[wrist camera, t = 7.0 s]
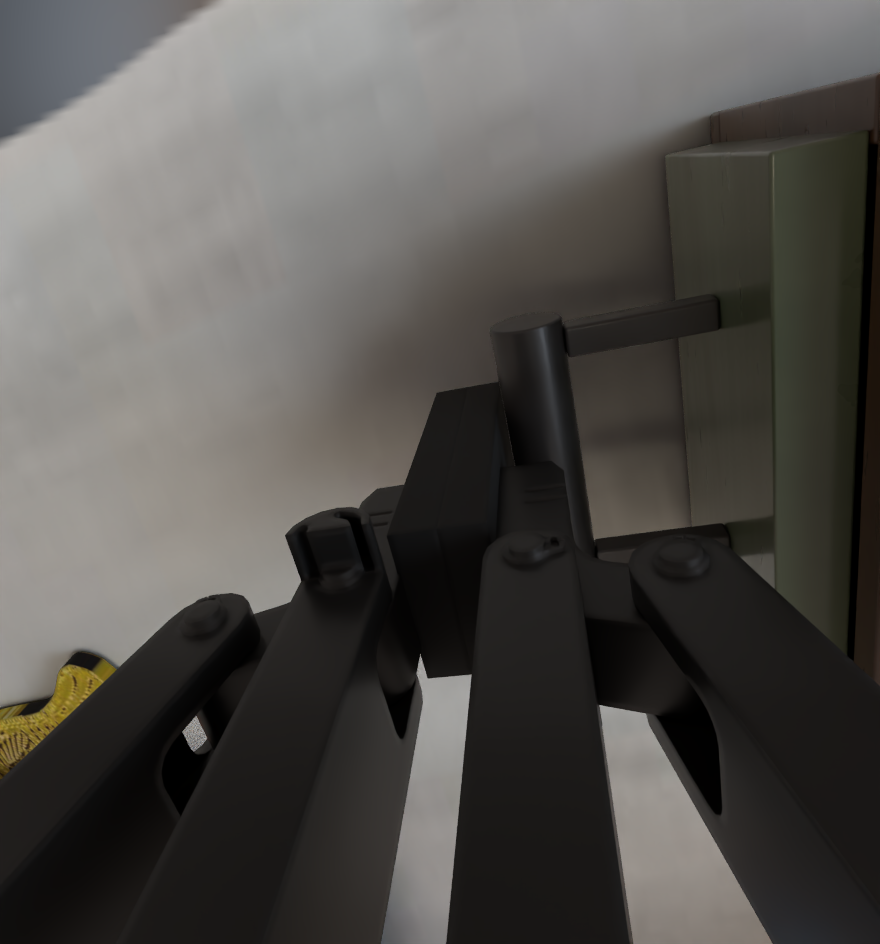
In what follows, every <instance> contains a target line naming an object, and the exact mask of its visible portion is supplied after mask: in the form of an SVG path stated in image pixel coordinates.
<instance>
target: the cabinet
mask: <svg viewBox="0 0 880 944" xmlns="http://www.w3.org/2000/svg"><path fill="white" fill-rule="evenodd" d="M857 130H867V131H868V132H869V145H878V157H877V178H876V199H875V221H874V242H873V263H872V285H871V306H870V327H869V348H868V370H867V391H866V412H865V434H864V455H863V476H862V498H861V519H860V540H859V562H858V583H857V604H856V606H855V604H854V603H853V602H852V600H851V599H850V604H849V628H848V652H847V656H848V657H849V658H850V659H851V660H852V661H853V662H854V663H856V664H857V665H858V666H859V667H860V668H861V669H862V670H863V671H864V672H865V673H866V674H868V675H869V676H870V677H871V678H872V679H873V680H874V681H875V682H876V683H877V684H878V685H879V686H880V72H879V73H875V74H871V75H867V76H863V77H859V78H854V79H850V80H846V81H842V82H838V83H834V84H830V85H826V86H821V87H817V88H813V89H809V90H805V91H801V92H797V93H793V94H788V95H784V96H780V97H776V98H772V99H768V100H764V101H760V102H755V103H751V104H747V105H743V106H739V107H735V108H731V109H727V110H722V111H718V112H714V113H713V114H712V115H711V139H712V144H714V143H718V142H728V141H739V140H751V139H763V138H775V137H786V136H798V135H810V134H822V133H833V132H845V131H857Z"/></svg>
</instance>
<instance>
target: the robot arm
mask: <svg viewBox="0 0 880 944" xmlns="http://www.w3.org/2000/svg"><path fill="white" fill-rule="evenodd" d="M285 537H286V539H287V542H288V545H289V548H290V551H291V553H292V556H293V559H294V562H295V564H296V567H297V570H298V573H299V575H300V578H301V583H300V585H299V587H298V589H297V591H296V593H295V595H294V597H293V598H292V600H291V602H290V603H287V604H284V605H281V606H278V607H275V608H272V609H269V610H266V611H263V612H260V613H256V614H253V611H252V609H251V607H250V604H249V602H248V601H247V600H246V599H245V597H244V596H242V595H238V594H233V593H229V594H219V595H218V594H217V595H212V596H209V597H208V598H207V597H205V598H202V599H199V600H197V601H196V602H195V603H194V604H192V605H190V606H188V607H186V608H184V609H183V610H181V611H180V612H179V613H178V614H176V615H175V616H174V617H172V618H171V619H170V620H169V621H168V622H167V623H166V624H165V625H164V626H163V627H162V628H160V629H159V630H158V631H157V632H156V633H155V634H154V635H153V636H152V637H151V638H150V639H149V640H148V641H147V642H146V643H145V644H144V645H142V646H141V647H140V648H139V649H138V650H137V651H136V652H135V653H134V654H133V655H132V656H131V657H130V658H129V659H128V660H127V661H126V662H124V663H123V664H122V665H121V666H120V667H119V668H118V669H117V670H116V671H115V672H114V673H113V674H112V675H111V676H110V677H109V678H108V679H106V680H105V681H104V682H103V683H102V684H101V685H100V686H99V687H98V688H97V689H96V690H95V691H94V692H93V693H92V694H91V695H90V696H88V697H87V698H86V699H85V700H84V701H83V702H82V703H81V704H80V705H79V706H78V707H77V708H76V709H75V710H74V711H73V712H72V713H70V714H69V715H68V716H67V717H66V718H65V719H64V720H63V721H62V722H61V723H60V724H59V725H58V726H57V727H56V728H55V729H54V730H52V731H51V732H50V733H49V734H48V735H47V736H46V737H45V738H44V739H43V740H42V741H41V742H40V743H39V744H38V745H37V746H36V747H34V748H33V749H32V750H31V751H30V752H29V753H28V754H27V755H26V756H25V757H24V758H23V759H22V760H21V761H20V762H19V763H17V764H16V765H15V766H14V767H13V768H12V769H11V770H10V771H9V772H8V773H7V774H6V775H5V776H4V777H3V778H2V779H1V780H0V944H381V939H382V934H383V928H384V922H385V916H386V911H387V905H388V899H389V894H390V888H391V882H392V876H393V871H394V865H395V859H396V853H397V848H398V842H399V836H400V830H401V825H402V819H403V813H404V807H405V802H406V796H407V790H408V784H409V779H410V773H411V767H412V761H413V756H414V750H415V744H416V739H417V733H418V727H419V721H420V716H421V710H422V704H423V699H422V690H421V687H420V684H419V680H418V677H417V674H416V673H417V668H418V663H419V658H420V653H421V657H422V660H423V664H424V667H425V671H426V674H427V678H437V677H448V676H459V675H470V674H472V678H471V688H470V699H469V709H468V720H467V731H466V741H465V752H464V762H463V773H462V784H461V794H460V805H459V815H458V826H457V836H456V847H455V858H454V868H453V879H452V889H451V900H450V910H449V921H448V932H447V942H446V944H633V939H632V932H631V925H630V918H629V911H628V904H627V897H626V890H625V883H624V876H623V869H622V862H621V855H620V848H619V841H618V834H617V828H616V821H615V814H614V807H613V800H612V793H611V786H610V779H609V772H608V765H607V758H606V751H605V744H604V737H603V730H602V720H601V714H600V707H599V705H603V706H608V707H614V708H619V709H625V710H630V711H636V712H642V713H646V715H647V718H648V722H649V725H650V727H651V729H652V731H653V733H654V734H655V736H656V738H657V740H658V742H659V743H660V745H661V747H662V749H663V750H664V752H665V754H666V756H667V757H668V759H669V761H670V763H671V764H672V766H673V768H674V770H675V772H676V773H677V775H678V777H679V779H680V780H681V782H682V784H683V786H684V787H685V789H686V791H687V793H688V795H689V796H690V798H691V800H692V802H693V803H694V805H695V807H696V809H697V810H698V812H699V814H700V816H701V817H702V819H703V821H704V823H705V825H706V826H707V828H708V830H709V832H710V833H711V835H712V837H713V839H714V840H715V842H716V844H717V846H718V847H719V849H720V851H721V853H722V855H723V856H724V858H725V860H726V862H727V863H728V865H729V867H730V869H731V870H732V872H733V874H734V876H735V878H736V879H737V881H738V883H739V885H740V886H741V888H742V890H743V892H744V893H745V895H746V897H747V899H748V900H749V902H750V904H751V906H752V908H753V909H754V911H755V913H756V915H757V916H758V918H759V920H760V922H761V923H762V925H763V927H764V929H765V930H766V932H767V934H768V936H769V938H770V939H771V941H772V943H773V944H880V686H879V685H878V684H877V683H876V682H875V681H874V680H873V679H872V678H871V677H870V676H869V675H868V674H866V673H865V672H864V671H863V670H862V669H861V668H860V667H859V666H858V665H857V664H856V663H854V662H853V661H852V660H851V659H850V658H849V657H848V656H847V655H846V654H845V653H844V652H843V651H841V650H840V649H839V648H838V647H837V646H836V645H835V644H834V643H833V642H832V641H831V640H829V639H828V638H827V637H826V636H825V635H824V634H823V633H822V632H821V631H820V630H819V629H818V628H816V627H815V626H814V625H813V624H812V623H811V622H810V621H809V620H808V619H807V618H806V617H804V616H803V615H802V614H801V613H800V612H799V611H798V610H797V609H796V608H795V607H794V606H793V605H791V604H790V603H789V602H788V601H787V600H786V599H785V598H784V597H783V596H782V595H781V594H779V593H778V592H777V591H776V590H775V589H774V588H773V587H772V586H771V585H770V584H769V583H768V582H766V581H765V580H764V579H763V578H762V577H761V576H760V575H759V574H758V573H757V572H756V571H755V570H753V569H752V568H751V567H750V566H749V565H748V564H747V563H746V562H745V561H744V560H743V559H741V558H740V557H739V556H738V555H737V554H736V553H735V552H734V551H733V550H732V549H731V548H729V547H727V546H726V545H724V544H722V543H721V542H719V541H717V540H715V539H711V538H707V537H704V536H700V535H692V534H687V535H686V534H674V535H669V536H662V537H658V538H655V539H653V540H650V541H648V542H645V543H643V544H642V545H640V546H639V547H638V548H637V549H636V550H634V551H633V552H632V554H631V557H630V559H629V562H628V563H619V562H611V561H604V560H601V559H598V558H594V557H591V556H590V555H588V554H586V553H584V552H583V551H581V550H580V548H579V547H578V546H577V545H576V543H575V540H574V533H573V527H572V520H571V514H570V507H569V501H568V495H567V488H566V482H565V475H564V470H563V469H561V468H560V467H559V466H557V465H556V464H555V463H554V462H552V461H545V462H538V463H532V464H525V465H518V466H515V464H514V459H513V454H512V448H511V443H510V438H509V433H508V427H507V422H506V417H505V411H504V406H503V401H502V395H501V390H500V385H499V382H495V383H489V384H483V385H478V386H472V387H466V388H461V389H455V390H449V391H444V392H438V393H437V394H436V397H435V399H434V402H433V405H432V408H431V411H430V414H429V416H428V419H427V422H426V425H425V428H424V431H423V434H422V436H421V439H420V442H419V445H418V448H417V451H416V453H415V456H414V459H413V462H412V465H411V468H410V470H409V473H408V476H407V479H406V482H405V485H399V486H393V487H386V488H379V489H376V490H375V491H374V492H373V493H372V494H371V495H370V496H368V497H367V498H366V499H365V500H364V501H363V502H362V503H361V505H360V508H359V509H358V508H353V507H346V508H335V509H331V510H327V511H323V512H320V513H317V514H315V515H312V516H310V517H308V518H306V519H304V520H302V521H301V522H299V523H298V524H296V525H295V526H293V527H292V528H291V529H290V530H289V531H288V533H287V534H286V535H285ZM195 716H197V718H198V720H199V722H200V724H201V726H202V728H203V730H204V732H205V734H206V736H207V738H208V739H207V740H206V741H205V742H204V744H203V745H202V746H201V747H200V748H198V749H197V750H196V751H195V752H194V751H192V750H191V749H190V747H189V745H188V743H187V741H186V739H185V737H184V735H183V733H182V731H183V730H184V729H185V728H186V726H187V725H188V724H189V723H190V722H191V721H192V719H193V718H194V717H195Z"/></svg>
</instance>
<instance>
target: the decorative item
mask: <svg viewBox="0 0 880 944" xmlns="http://www.w3.org/2000/svg"><path fill="white" fill-rule="evenodd" d="M116 670H117V669H116V668H114V667H113V666H112V665H111V664H109V663H108V662H107V661H106V660H104V659H103V658H101V657H99V656H97V655H94V654H90V653H86V652H78V653H76V654H74V655H73V656H72V657H71V658H70V659H69V660H68V662H67V663H66V664H65V665H64V666H63V667H62V668H61V669H60V671H59V673H58V676H57V682H56V688H55V692H54V694H53V697H51V698H49V699H47V700H43V701H38V702H33V703H27V704H22V705H17V706H12V707H8V708H4V709H0V780H1V779H2V778H3V777H4V776H5V775H6V774H7V773H8V772H9V771H10V770H11V769H12V768H13V767H14V766H15V765H16V764H17V763H19V762H20V761H21V760H22V759H23V758H24V757H25V756H26V755H27V754H28V753H29V752H30V751H31V750H32V749H33V748H34V747H36V746H37V745H38V744H39V743H40V742H41V741H42V740H43V739H44V738H45V737H46V736H47V735H48V734H49V733H50V732H51V731H52V730H54V729H55V728H56V727H57V726H58V725H59V724H60V723H61V722H62V721H63V720H64V719H65V718H66V717H67V716H68V715H69V714H70V713H72V712H73V711H74V710H75V709H76V708H77V707H78V706H79V705H80V704H81V703H82V702H83V701H84V700H85V699H86V698H87V697H88V696H90V695H91V694H92V693H93V692H94V691H95V690H96V689H97V688H98V687H99V686H100V685H101V684H102V683H103V682H104V681H105V680H106V679H108V678H109V677H110V676H111V675H112V674H113V673H114V672H115V671H116Z"/></svg>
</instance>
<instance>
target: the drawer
mask: <svg viewBox="0 0 880 944" xmlns="http://www.w3.org/2000/svg"><path fill="white" fill-rule="evenodd" d="M877 157H878V145H869V132H868V131H867V130H857V131H845V132H833V133H822V134H810V135H798V136H786V137H775V138H763V139H751V140H739V141H728V142H718V143H714V144H710V145H705V146H701V147H697V148H692V149H688V150H684V151H680V152H675V153H671V154H667V155H666V157H665V162H666V176H667V189H668V203H669V217H670V231H671V244H672V258H673V272H674V286H675V300H674V301H669V302H664V303H658V304H653V305H648V306H643V307H638V308H632V309H627V310H622V311H617V312H612V313H606V314H601V315H596V316H591V317H586V318H580V319H575V320H570V321H566V322H564V323H563V322H562V317H561V315H560V314H558V313H554V312H537V313H530V314H524V315H520V316H515V317H512V318H509V319H506V320H503V321H501V322H498V323H497V324H495V325H493V326H492V327H491V328H490V336H491V341H492V347H493V352H494V357H495V362H496V368H497V373H498V378H499V384H500V389H501V394H502V399H503V405H504V410H505V415H506V420H507V426H508V431H509V436H510V441H511V447H512V452H513V457H514V462H515V466H518V465H525V464H532V463H538V462H545V461H552V462H554V463H555V464H556V465H557V466H559V467H560V468H561V469H563V470H564V475H565V482H566V488H567V495H568V501H569V507H570V514H571V520H572V527H573V533H574V540H575V543H576V545H577V546H578V547H579V548H580V550H581V551H583V552H584V553H586V554H588V555H590V556H591V557H594V558H598V559H601V560H604V561H611V562H619V563H628V562H629V559H630V557H631V554H632V552H633V551H634V550H636V549H637V548H638V547H639V546H640V545H642V544H643V543H645V542H648V541H650V540H653V539H655V538H658V537H662V536H669V535H674V534H686V535H687V534H692V535H700V536H704V537H707V538H711V539H715V540H717V541H719V542H721V543H722V544H724V545H726V546H727V547H729V548H731V549H732V550H733V551H734V552H735V553H736V554H737V555H738V556H739V557H740V558H741V559H743V560H744V561H745V562H746V563H747V564H748V565H749V566H750V567H751V568H752V569H753V570H755V571H756V572H757V573H758V574H759V575H760V576H761V577H762V578H763V579H764V580H765V581H766V582H768V583H769V584H770V585H771V586H772V587H773V588H774V589H775V590H776V591H777V592H778V593H779V594H781V595H782V596H783V597H784V598H785V599H786V600H787V601H788V602H789V603H790V604H791V605H793V606H794V607H795V608H796V609H797V610H798V611H799V612H800V613H801V614H802V615H803V616H804V617H806V618H807V619H808V620H809V621H810V622H811V623H812V624H813V625H814V626H815V627H816V628H818V629H819V630H820V631H821V632H822V633H823V634H824V635H825V636H826V637H827V638H828V639H829V640H831V641H832V642H833V643H834V644H835V645H836V646H837V647H838V648H839V649H840V650H841V651H843V652H844V653H845V654H846V655H847V652H848V628H849V604H850V599H851V600H852V602H853V603H854V604H855V606H856V604H857V583H858V562H859V540H860V519H861V498H862V476H863V455H864V434H865V412H866V391H867V370H868V348H869V327H870V306H871V285H872V263H873V242H874V221H875V199H876V178H877ZM674 338H678V341H679V355H680V368H681V382H682V396H683V410H684V423H685V437H686V451H687V465H688V478H689V492H690V506H691V520H692V527H685V528H678V529H670V530H662V531H654V532H646V533H639V534H631V535H623V536H615V537H607V538H600V539H595V541H594V538H593V531H592V524H591V517H590V510H589V503H588V496H587V489H586V482H585V475H584V468H583V461H582V454H581V447H580V440H579V434H578V427H577V420H576V413H575V406H574V399H573V392H572V385H571V378H570V371H569V364H568V357H567V354H568V356H569V357H575V356H581V355H586V354H592V353H597V352H603V351H608V350H614V349H619V348H625V347H630V346H636V345H641V344H647V343H652V342H658V341H663V340H669V339H674Z"/></svg>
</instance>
